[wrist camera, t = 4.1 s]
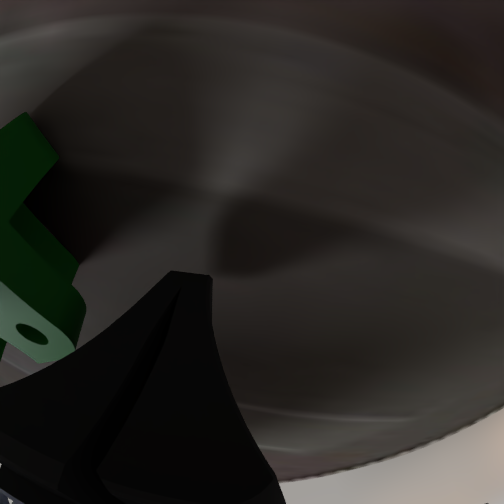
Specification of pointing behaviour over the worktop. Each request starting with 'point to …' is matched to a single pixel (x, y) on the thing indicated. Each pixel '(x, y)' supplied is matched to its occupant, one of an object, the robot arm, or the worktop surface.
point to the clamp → (33, 255)
